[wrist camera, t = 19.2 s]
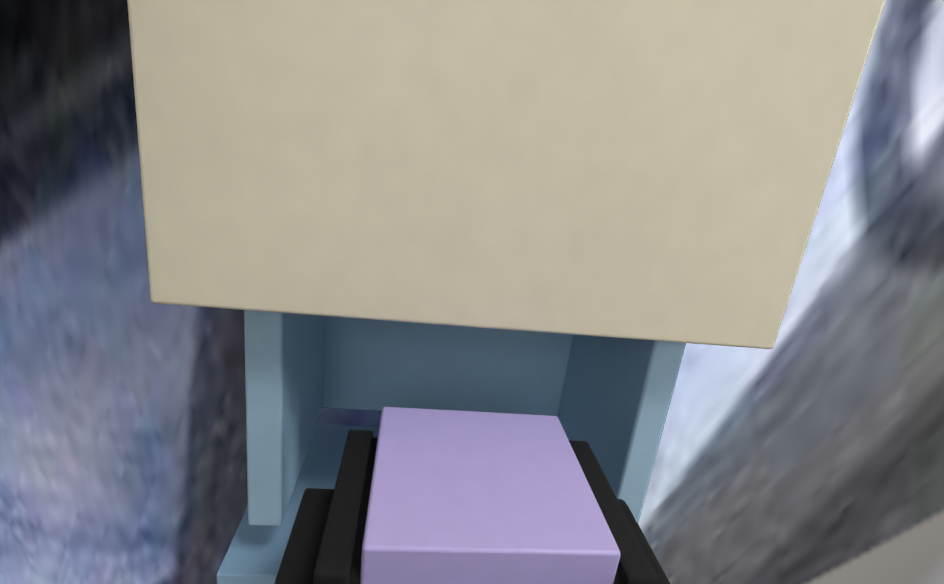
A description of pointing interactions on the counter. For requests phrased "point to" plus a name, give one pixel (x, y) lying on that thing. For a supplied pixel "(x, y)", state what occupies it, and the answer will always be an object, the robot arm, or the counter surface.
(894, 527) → the counter surface
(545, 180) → the drawer cabinet
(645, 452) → the blue drawer
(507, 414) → the lavender cube
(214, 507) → the counter surface
